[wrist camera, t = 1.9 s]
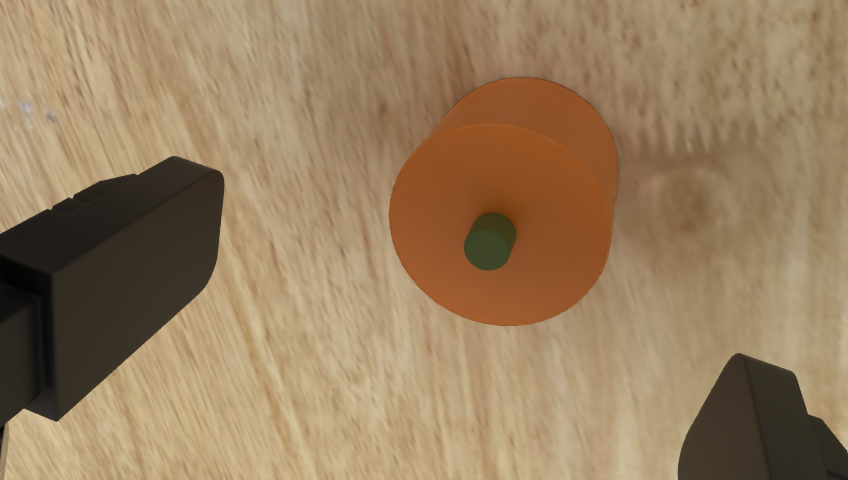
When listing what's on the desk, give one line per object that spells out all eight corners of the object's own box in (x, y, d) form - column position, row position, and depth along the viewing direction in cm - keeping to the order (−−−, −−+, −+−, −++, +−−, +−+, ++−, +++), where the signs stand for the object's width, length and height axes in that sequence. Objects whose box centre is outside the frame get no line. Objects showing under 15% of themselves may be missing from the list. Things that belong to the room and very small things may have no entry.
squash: (516, 35, 14) (474, 84, 11) (660, 169, 15) (663, 257, 11) (398, 168, 16) (330, 245, 13) (527, 283, 17) (494, 389, 13)
